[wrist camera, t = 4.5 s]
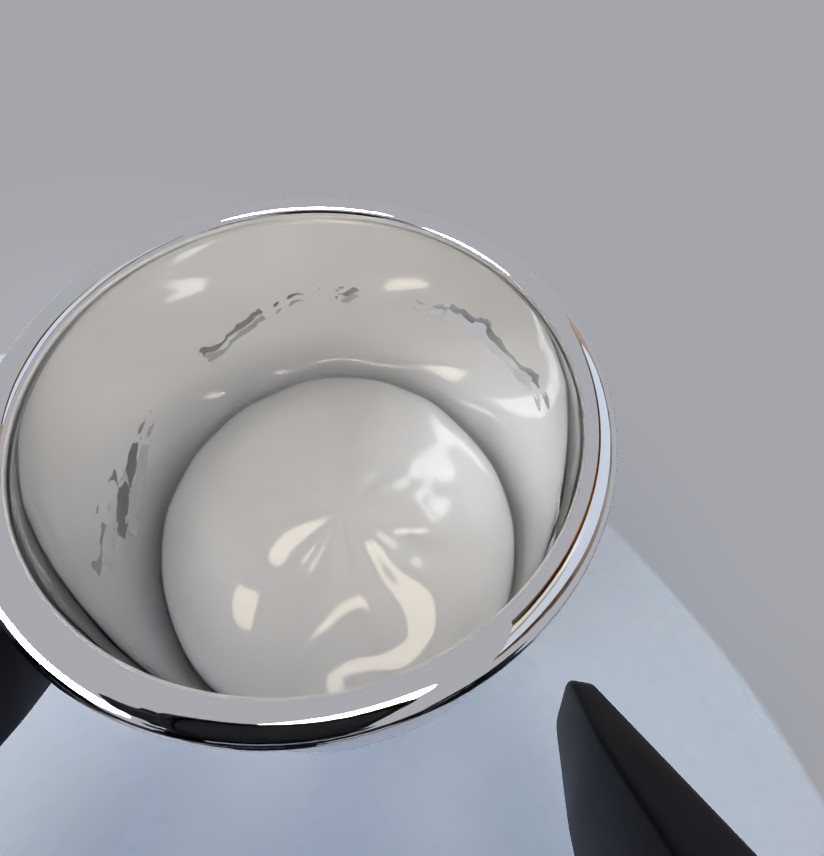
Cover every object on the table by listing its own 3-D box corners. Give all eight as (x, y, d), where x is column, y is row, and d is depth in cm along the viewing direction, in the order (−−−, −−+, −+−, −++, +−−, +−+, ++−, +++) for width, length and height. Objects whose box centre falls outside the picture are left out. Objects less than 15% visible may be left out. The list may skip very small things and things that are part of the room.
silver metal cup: (297, 766, 15) (-132, 1041, 3) (250, 566, 19) (-47, 243, 6) (486, 674, 17) (799, 563, 4) (412, 506, 20) (463, 150, 7)
